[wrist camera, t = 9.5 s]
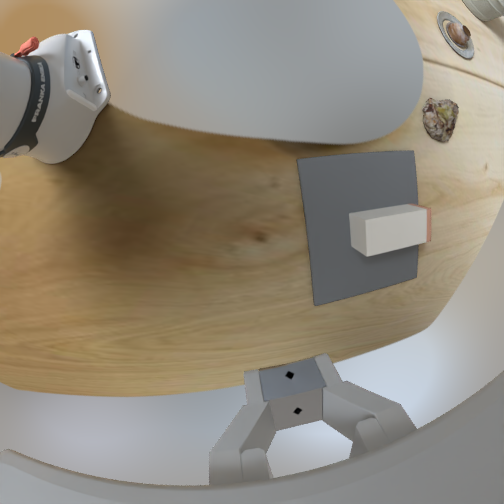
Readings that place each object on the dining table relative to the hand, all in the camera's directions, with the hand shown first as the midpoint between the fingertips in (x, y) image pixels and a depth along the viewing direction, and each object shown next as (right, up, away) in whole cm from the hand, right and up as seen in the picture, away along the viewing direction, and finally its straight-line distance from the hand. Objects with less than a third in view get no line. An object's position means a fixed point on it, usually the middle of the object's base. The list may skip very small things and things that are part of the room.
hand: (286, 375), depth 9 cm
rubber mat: (+16, +8, +30) cm, 35 cm away
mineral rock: (+32, +28, +26) cm, 49 cm away
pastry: (+42, +50, +20) cm, 68 cm away
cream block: (+13, +7, +27) cm, 30 cm away
